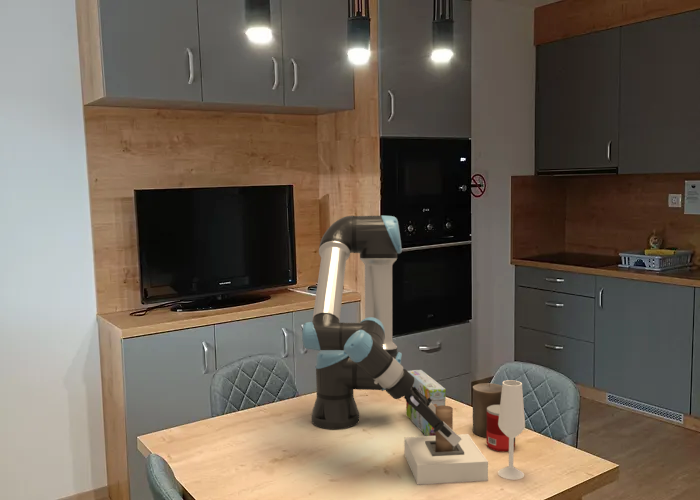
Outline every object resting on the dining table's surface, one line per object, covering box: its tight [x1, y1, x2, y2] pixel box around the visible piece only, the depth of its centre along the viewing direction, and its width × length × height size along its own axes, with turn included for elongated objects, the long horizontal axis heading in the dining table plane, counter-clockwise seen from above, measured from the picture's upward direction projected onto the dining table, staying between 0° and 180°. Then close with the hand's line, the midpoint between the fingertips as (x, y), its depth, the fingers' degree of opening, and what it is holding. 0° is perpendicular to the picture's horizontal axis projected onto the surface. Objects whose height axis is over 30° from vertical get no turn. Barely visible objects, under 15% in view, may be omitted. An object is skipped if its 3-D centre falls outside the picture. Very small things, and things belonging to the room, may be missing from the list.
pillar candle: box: [472, 382, 502, 438], centre depth 195 cm, size 10×10×15 cm
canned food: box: [485, 405, 516, 453], centre depth 185 cm, size 8×8×11 cm
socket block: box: [403, 433, 489, 485], centre depth 172 cm, size 18×18×6 cm
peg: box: [436, 404, 454, 452], centre depth 172 cm, size 4×4×16 cm
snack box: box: [405, 369, 447, 436], centre depth 200 cm, size 21×6×15 cm, turn 14°
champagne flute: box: [497, 379, 526, 481], centre depth 167 cm, size 7×7×24 cm
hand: (450, 432), depth 172 cm, fingers open, 13 cm apart
